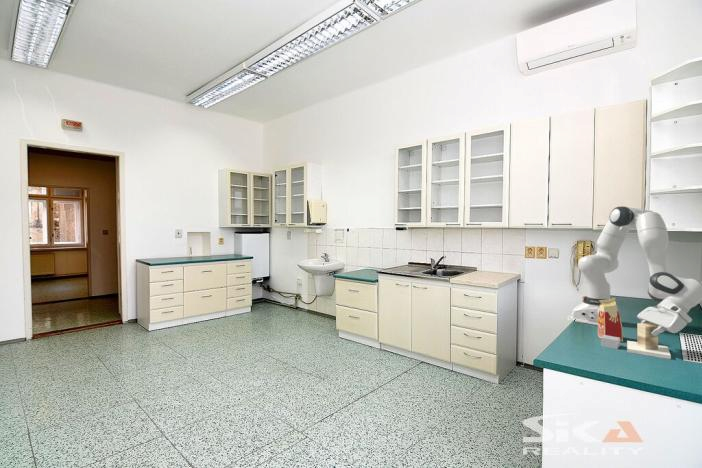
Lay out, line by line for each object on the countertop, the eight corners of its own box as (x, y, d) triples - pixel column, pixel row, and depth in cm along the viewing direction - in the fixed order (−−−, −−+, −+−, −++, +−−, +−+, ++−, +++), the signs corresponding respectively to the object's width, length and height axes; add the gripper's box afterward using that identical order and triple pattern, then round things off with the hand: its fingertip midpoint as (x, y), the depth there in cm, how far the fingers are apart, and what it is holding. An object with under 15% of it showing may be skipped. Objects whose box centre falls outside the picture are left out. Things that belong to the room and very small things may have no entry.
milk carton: (616, 336, 174) (616, 296, 174) (624, 341, 166) (623, 299, 165) (595, 334, 177) (594, 295, 177) (601, 339, 169) (601, 298, 168)
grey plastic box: (601, 346, 160) (601, 337, 160) (604, 343, 164) (604, 334, 164) (617, 349, 156) (617, 340, 156) (620, 346, 160) (620, 337, 160)
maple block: (645, 349, 150) (645, 326, 150) (637, 345, 155) (637, 323, 155) (658, 349, 150) (658, 326, 150) (649, 345, 155) (649, 323, 155)
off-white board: (627, 352, 151) (627, 348, 151) (627, 343, 162) (627, 340, 162) (670, 359, 143) (670, 355, 143) (667, 349, 154) (667, 346, 154)
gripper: (647, 300, 162) (624, 320, 163) (683, 310, 141) (657, 333, 143) (658, 310, 161) (635, 330, 163) (696, 321, 141) (669, 344, 142)
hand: (645, 331), depth 153 cm, fingers open, 6 cm apart
